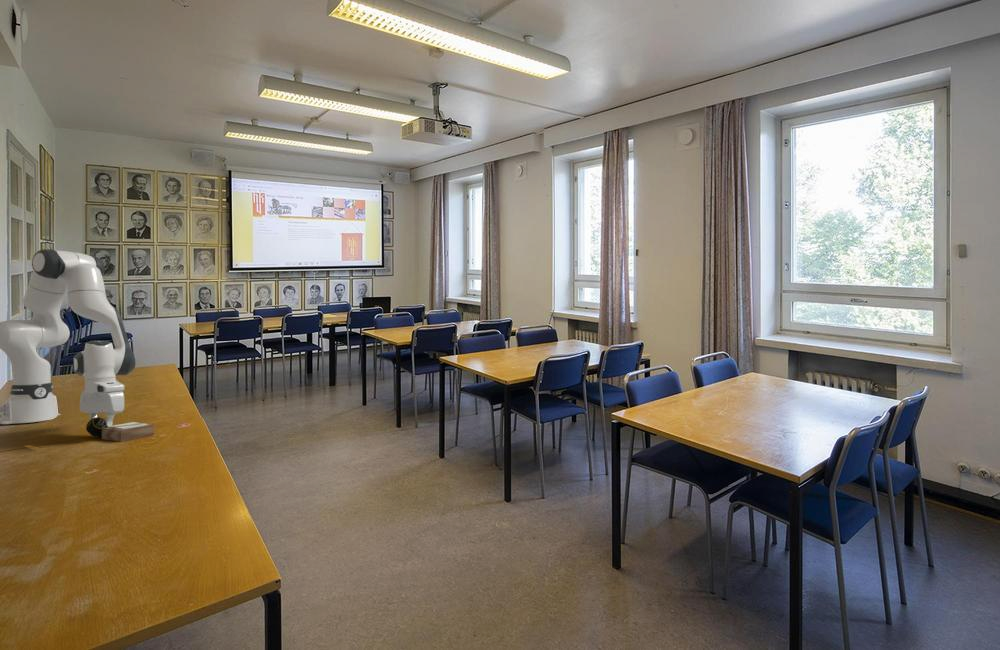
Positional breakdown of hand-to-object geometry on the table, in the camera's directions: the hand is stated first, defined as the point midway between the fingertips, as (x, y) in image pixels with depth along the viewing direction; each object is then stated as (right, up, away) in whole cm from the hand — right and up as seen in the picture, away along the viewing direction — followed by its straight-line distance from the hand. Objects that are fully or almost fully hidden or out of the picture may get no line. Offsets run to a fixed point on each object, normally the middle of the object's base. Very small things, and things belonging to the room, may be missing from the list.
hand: (102, 425), depth 187 cm
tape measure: (0, -4, 0) cm, 4 cm away
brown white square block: (+9, -4, 0) cm, 10 cm away
